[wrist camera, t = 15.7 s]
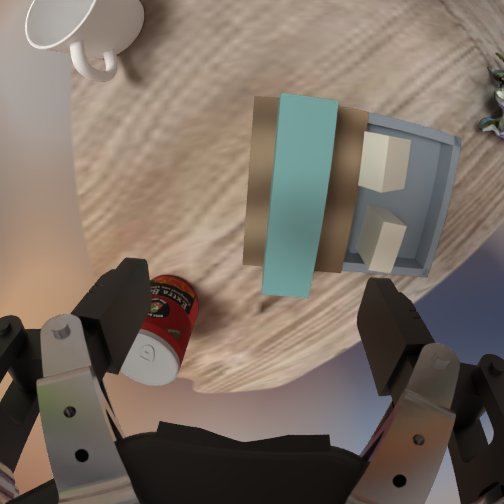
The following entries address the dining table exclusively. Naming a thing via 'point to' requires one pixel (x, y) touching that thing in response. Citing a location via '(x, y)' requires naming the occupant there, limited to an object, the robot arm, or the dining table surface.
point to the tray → (411, 197)
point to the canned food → (163, 333)
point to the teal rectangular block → (298, 192)
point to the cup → (85, 30)
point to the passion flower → (499, 125)
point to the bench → (338, 192)
